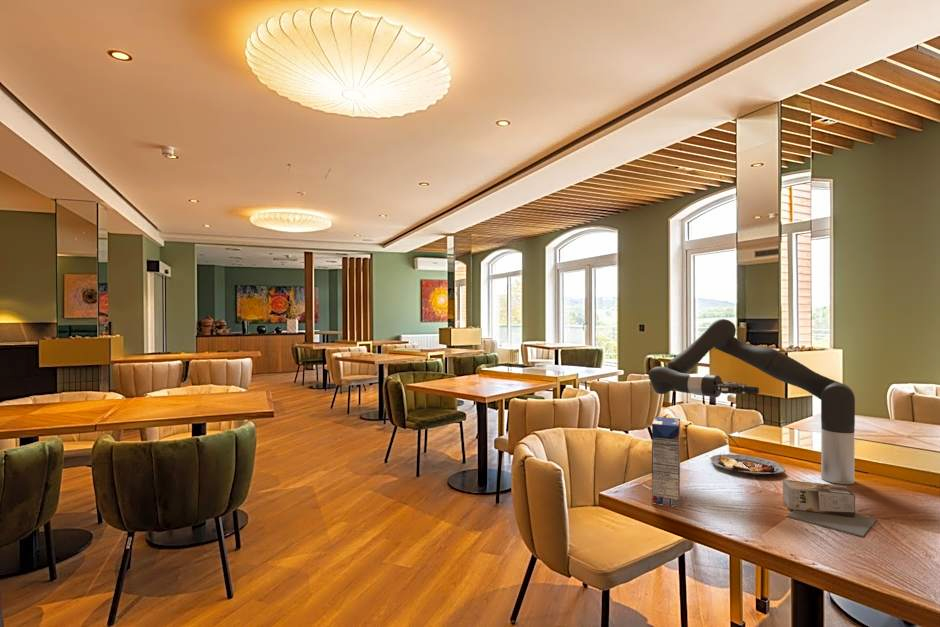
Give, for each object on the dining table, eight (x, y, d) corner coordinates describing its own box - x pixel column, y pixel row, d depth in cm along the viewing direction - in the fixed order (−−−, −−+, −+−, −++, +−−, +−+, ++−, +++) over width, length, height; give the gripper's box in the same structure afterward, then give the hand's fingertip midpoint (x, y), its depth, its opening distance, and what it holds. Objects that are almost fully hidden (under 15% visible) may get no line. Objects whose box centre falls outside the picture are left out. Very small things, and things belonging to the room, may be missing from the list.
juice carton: (654, 491, 161) (654, 416, 161) (679, 494, 158) (680, 418, 158) (651, 504, 150) (652, 423, 150) (678, 508, 147) (679, 426, 147)
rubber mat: (804, 503, 152) (804, 501, 152) (876, 520, 139) (876, 519, 139) (787, 517, 141) (787, 515, 141) (863, 537, 128) (863, 535, 128)
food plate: (793, 481, 171) (793, 471, 171) (718, 476, 178) (718, 465, 178) (771, 463, 195) (771, 453, 195) (706, 458, 202) (706, 449, 202)
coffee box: (788, 509, 146) (856, 518, 139) (788, 487, 146) (855, 495, 139) (782, 499, 154) (845, 506, 148) (782, 478, 154) (845, 484, 148)
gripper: (696, 375, 173) (750, 381, 160) (712, 373, 182) (765, 377, 169) (696, 397, 173) (750, 404, 160) (712, 393, 182) (765, 400, 169)
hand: (758, 390), depth 164 cm, fingers closed
